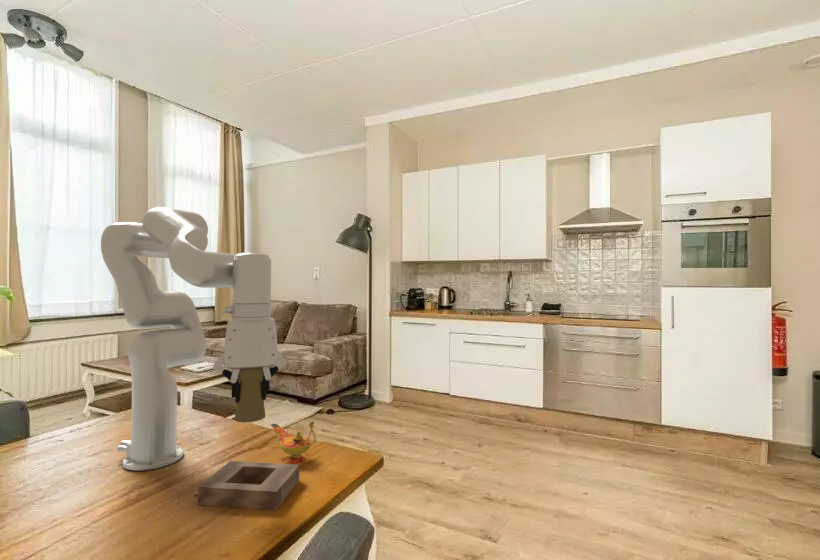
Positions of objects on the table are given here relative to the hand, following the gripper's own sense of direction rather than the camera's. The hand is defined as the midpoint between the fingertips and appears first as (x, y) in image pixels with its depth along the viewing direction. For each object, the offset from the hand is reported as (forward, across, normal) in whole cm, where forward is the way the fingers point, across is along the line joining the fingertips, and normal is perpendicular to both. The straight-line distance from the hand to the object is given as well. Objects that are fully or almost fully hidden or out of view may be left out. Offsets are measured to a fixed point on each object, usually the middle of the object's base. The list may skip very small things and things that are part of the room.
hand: (250, 398), depth 85 cm
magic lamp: (+20, +10, +14) cm, 26 cm away
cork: (+4, 0, 0) cm, 4 cm away
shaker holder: (+19, 0, 0) cm, 19 cm away
